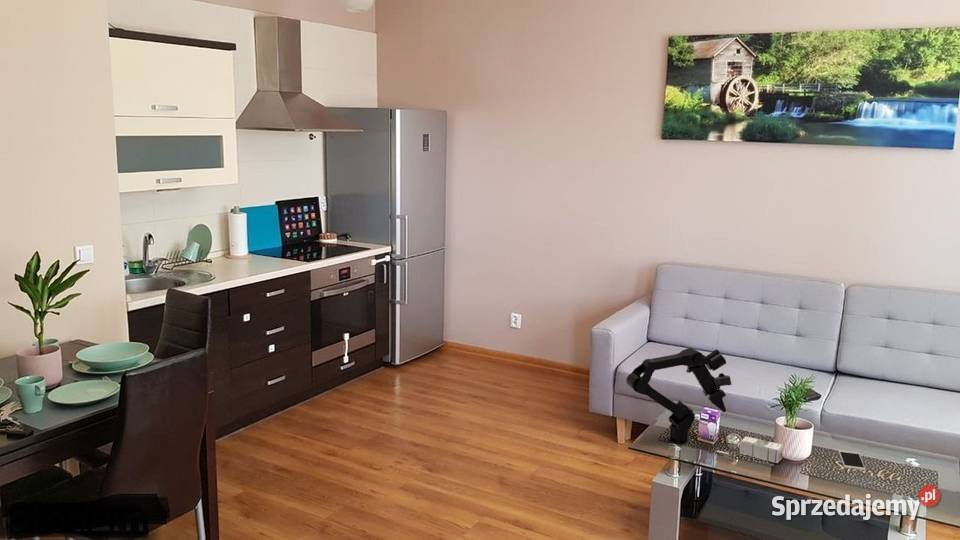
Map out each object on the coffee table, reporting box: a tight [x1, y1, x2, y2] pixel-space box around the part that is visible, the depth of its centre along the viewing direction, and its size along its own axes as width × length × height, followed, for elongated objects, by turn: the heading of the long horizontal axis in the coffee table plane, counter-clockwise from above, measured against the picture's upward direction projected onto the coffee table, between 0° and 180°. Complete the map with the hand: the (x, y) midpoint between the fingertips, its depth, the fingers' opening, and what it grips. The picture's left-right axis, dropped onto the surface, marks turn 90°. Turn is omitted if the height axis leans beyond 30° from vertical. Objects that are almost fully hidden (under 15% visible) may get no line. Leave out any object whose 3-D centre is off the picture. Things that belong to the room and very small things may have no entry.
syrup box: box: [739, 435, 784, 464], centre depth 289 cm, size 6×6×14 cm
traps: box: [721, 453, 736, 462], centre depth 294 cm, size 6×23×1 cm, turn 124°
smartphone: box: [838, 449, 866, 471], centre depth 287 cm, size 7×16×1 cm, turn 163°
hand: (725, 411), depth 298 cm, fingers closed
